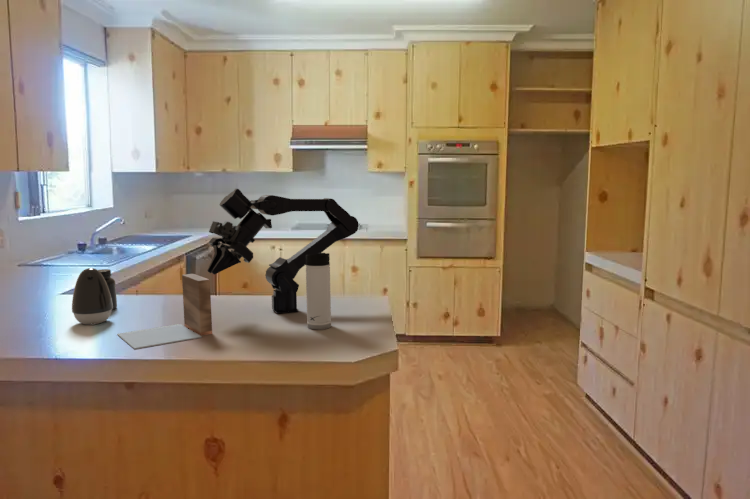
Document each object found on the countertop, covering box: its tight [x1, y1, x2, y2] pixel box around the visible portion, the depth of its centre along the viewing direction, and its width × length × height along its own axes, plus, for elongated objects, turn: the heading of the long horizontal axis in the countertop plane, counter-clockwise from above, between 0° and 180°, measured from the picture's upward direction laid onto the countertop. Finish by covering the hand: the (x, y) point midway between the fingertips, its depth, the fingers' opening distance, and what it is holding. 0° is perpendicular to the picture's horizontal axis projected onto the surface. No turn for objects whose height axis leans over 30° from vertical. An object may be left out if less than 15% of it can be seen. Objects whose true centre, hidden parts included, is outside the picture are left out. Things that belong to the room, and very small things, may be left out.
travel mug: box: [305, 252, 332, 331], centre depth 154 cm, size 6×7×20 cm
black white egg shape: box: [71, 267, 113, 326], centre depth 161 cm, size 10×10×15 cm
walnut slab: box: [181, 273, 213, 337], centre depth 152 cm, size 3×12×14 cm, turn 37°
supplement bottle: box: [97, 268, 118, 311], centre depth 178 cm, size 7×7×12 cm
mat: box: [116, 323, 203, 350], centre depth 147 cm, size 16×16×1 cm
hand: (210, 272), depth 160 cm, fingers open, 3 cm apart
